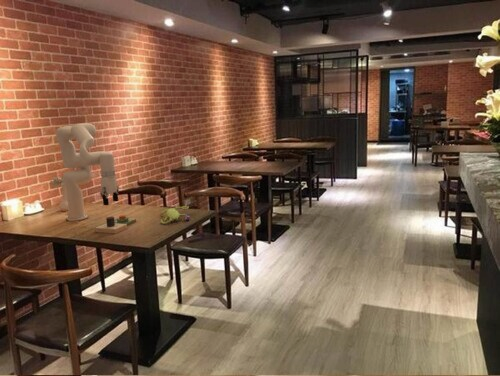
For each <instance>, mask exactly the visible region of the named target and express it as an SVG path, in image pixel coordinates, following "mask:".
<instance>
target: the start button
mask: <svg viewBox="0 0 500 376" xmlns="http://www.w3.org/2000/svg"><path fill="white" fill-rule="evenodd" d="M126 217H127V216H126V215H125V214H120V215H119V216H118V218H119V219H124V218H126Z"/></svg>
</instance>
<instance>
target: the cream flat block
mask: <svg viewBox="0 0 500 376" xmlns="http://www.w3.org/2000/svg"><path fill="white" fill-rule="evenodd" d="M126 229H128V226H127V224H117V223H115V226H113V227H107V222H106V223H102V224H101V225H98V226H96V227H94V232H95V233H105V234H117V233H120V232H121V231H124V230H126Z"/></svg>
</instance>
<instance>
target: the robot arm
mask: <svg viewBox="0 0 500 376" xmlns="http://www.w3.org/2000/svg"><path fill="white" fill-rule="evenodd" d="M55 132H56V133H55V136H56V140H57V143H58V145H59V147H60V153H61V161H62V164H63V167H64V168H65V169H72V170H68V171H66V172H64V173H63V175H62V176H63V181H64V184H65V188H66V194H67V202H68V210H69V211H65V213H64V215H65V216H67V217H66V220H67V221H68V222H69V221H70V222H78V221H83V220H86V219H88V218H89V217H88V215H87V214H86V212H85V211H86V210H85V203H84V195H83V190H82V188H81V187H80V186H79V185H83V184H84V185H85V184H89V183H90V182H91V181H92V177H93V176H92V169H91V166H98V165H100V175H101V178H100V191H99V194H100V197H101V199H102V204H103V206H109V205H110V204H109V203H110V202H109V198H108V197H109V195H112V201H113V202H119V192H120V191H119V189H120V185H118V181H117V177H116V169H115V159H114V157H115V156H114V153H113V152H111V151H106V150H100V151H92V152H89V151H88V150H89V149H91V148H92V147H93V146H94V144H95V138H94V137H95V136H96V134H97V129H96V126H95V125H94V124H93V123H89V122H85V123H76V124H73V125H64V126H60V127H58V128H57V129H56V131H55ZM71 140H76V141H77V143H78V145H79V150H78V151H79V152H77V151H76V145H75V144H74V143H73V141H71ZM78 168H80V169H78ZM73 169H74V170H73Z"/></svg>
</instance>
